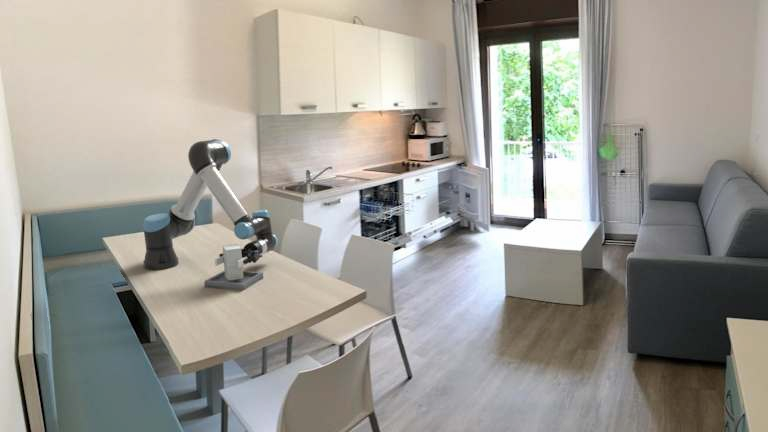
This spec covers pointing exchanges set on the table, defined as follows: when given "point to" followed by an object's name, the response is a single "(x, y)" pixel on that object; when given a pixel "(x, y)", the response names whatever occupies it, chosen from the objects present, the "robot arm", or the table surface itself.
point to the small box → (232, 262)
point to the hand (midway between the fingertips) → (226, 263)
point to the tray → (234, 281)
